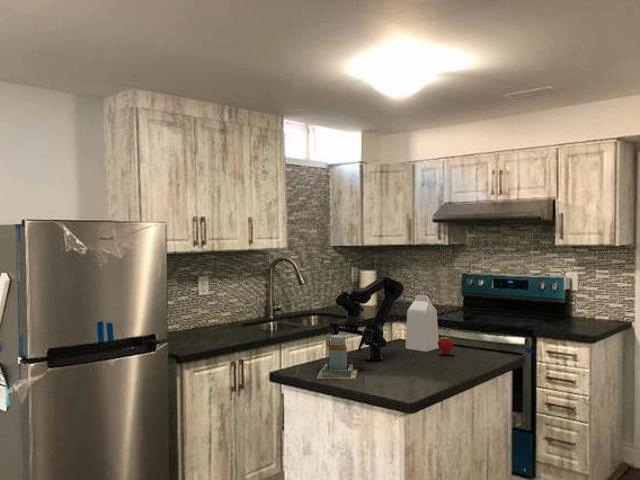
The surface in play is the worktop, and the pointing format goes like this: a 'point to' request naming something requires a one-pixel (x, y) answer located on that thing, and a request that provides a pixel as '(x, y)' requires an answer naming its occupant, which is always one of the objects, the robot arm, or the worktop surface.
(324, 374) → the square rimmed tray
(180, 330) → the worktop surface
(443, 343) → the strawberry
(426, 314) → the milk
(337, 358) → the bottle
